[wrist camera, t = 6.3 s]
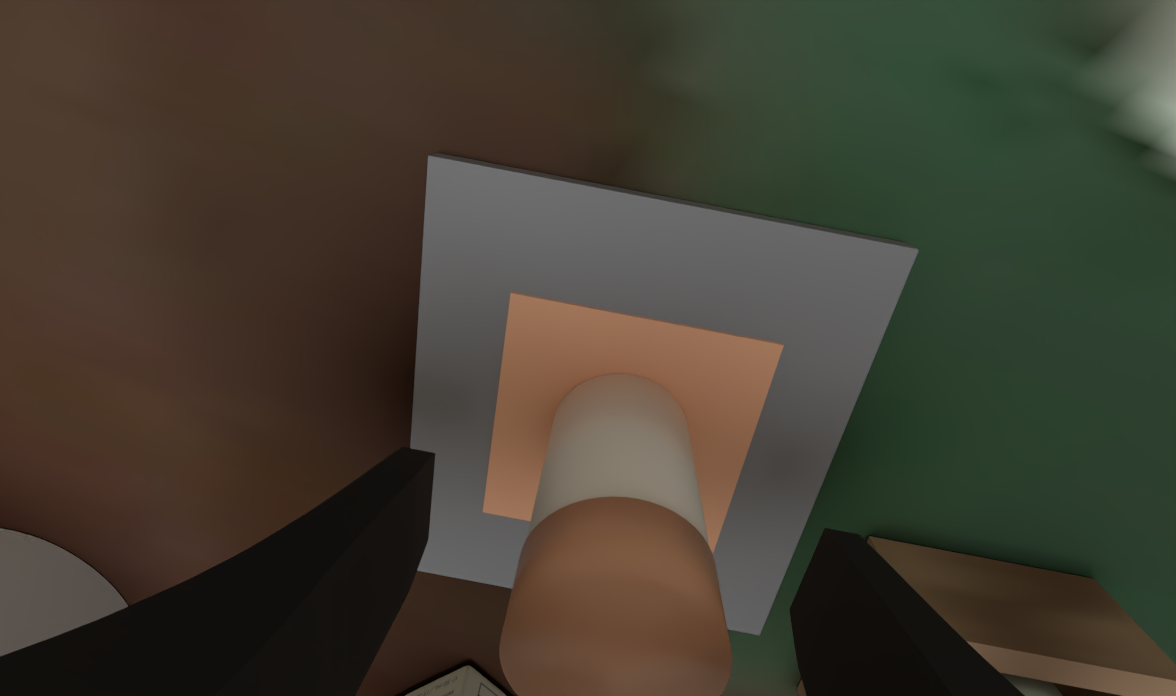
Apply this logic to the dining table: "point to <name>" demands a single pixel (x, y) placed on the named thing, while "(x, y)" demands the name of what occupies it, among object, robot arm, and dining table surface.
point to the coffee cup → (47, 591)
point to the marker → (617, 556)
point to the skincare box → (459, 685)
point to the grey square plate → (636, 355)
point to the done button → (1033, 686)
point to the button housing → (1035, 622)
